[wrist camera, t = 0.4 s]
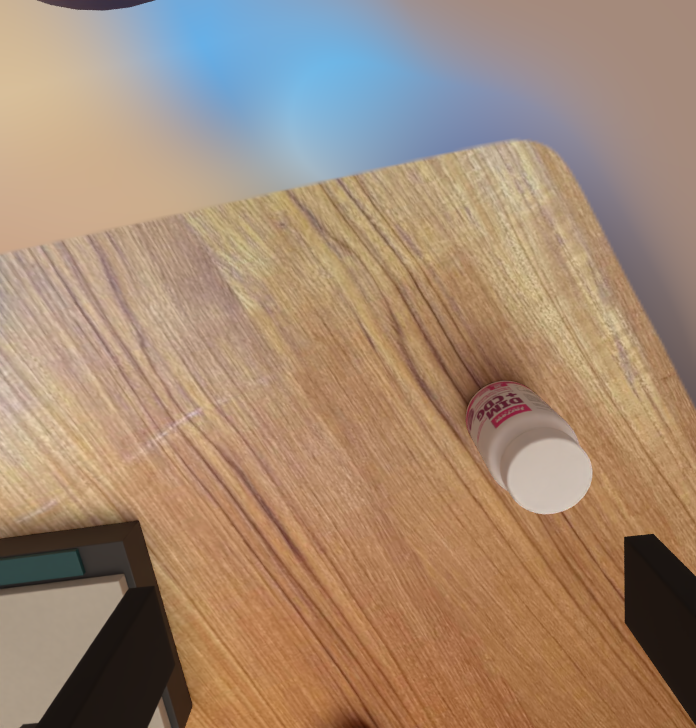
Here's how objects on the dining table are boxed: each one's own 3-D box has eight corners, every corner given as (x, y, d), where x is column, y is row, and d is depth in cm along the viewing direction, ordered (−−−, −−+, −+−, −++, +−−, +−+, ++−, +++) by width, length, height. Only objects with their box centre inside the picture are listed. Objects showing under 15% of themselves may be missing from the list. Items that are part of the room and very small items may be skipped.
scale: (-53, 545, 35) (-93, 575, 32) (138, 520, 34) (116, 548, 31) (19, 724, 38) (-11, 766, 35) (192, 706, 38) (177, 748, 34)
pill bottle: (492, 364, 30) (539, 410, 22) (555, 402, 31) (624, 461, 23) (449, 427, 32) (479, 492, 23) (510, 462, 32) (561, 539, 24)
